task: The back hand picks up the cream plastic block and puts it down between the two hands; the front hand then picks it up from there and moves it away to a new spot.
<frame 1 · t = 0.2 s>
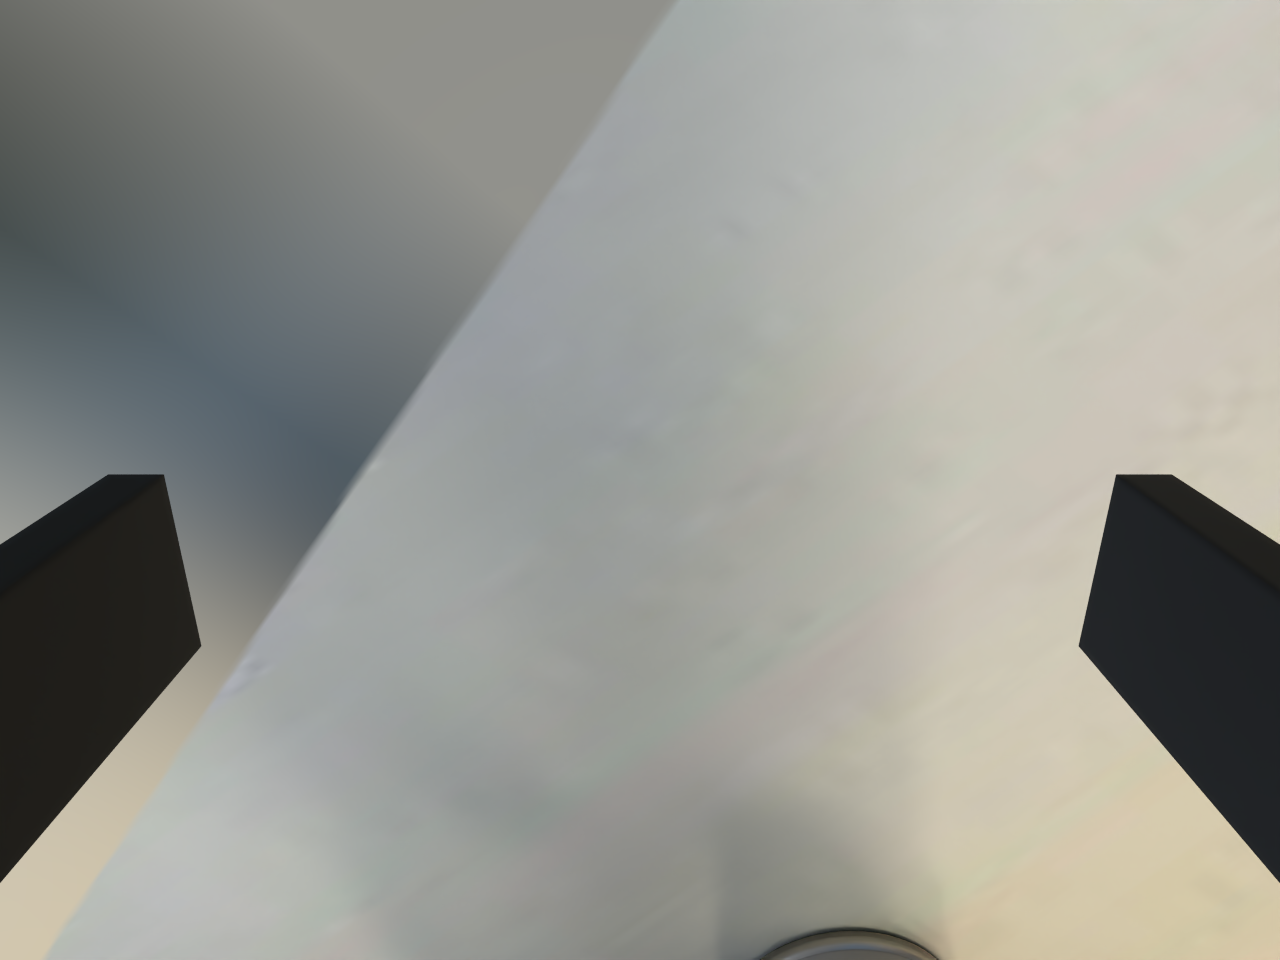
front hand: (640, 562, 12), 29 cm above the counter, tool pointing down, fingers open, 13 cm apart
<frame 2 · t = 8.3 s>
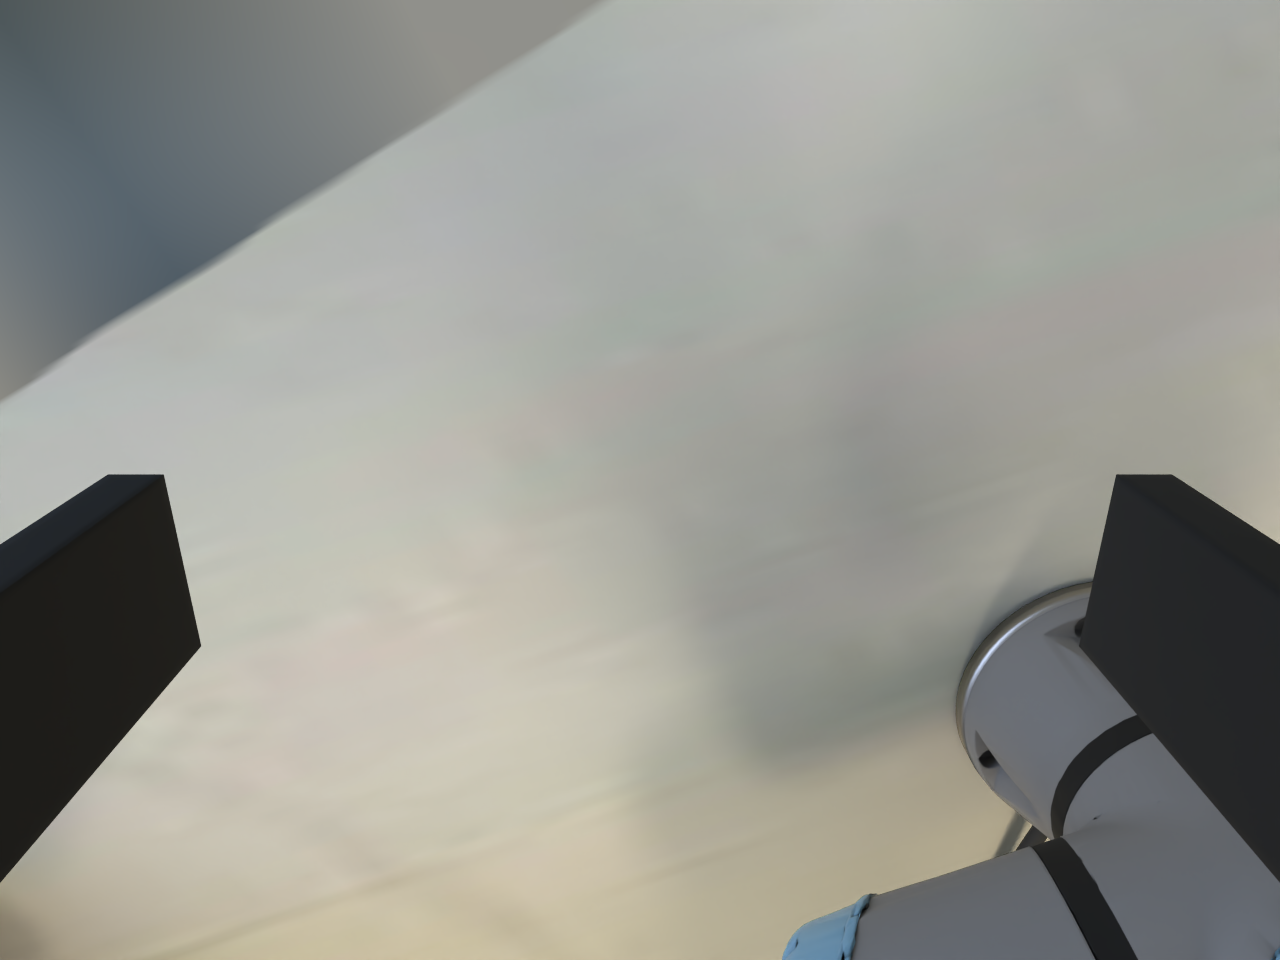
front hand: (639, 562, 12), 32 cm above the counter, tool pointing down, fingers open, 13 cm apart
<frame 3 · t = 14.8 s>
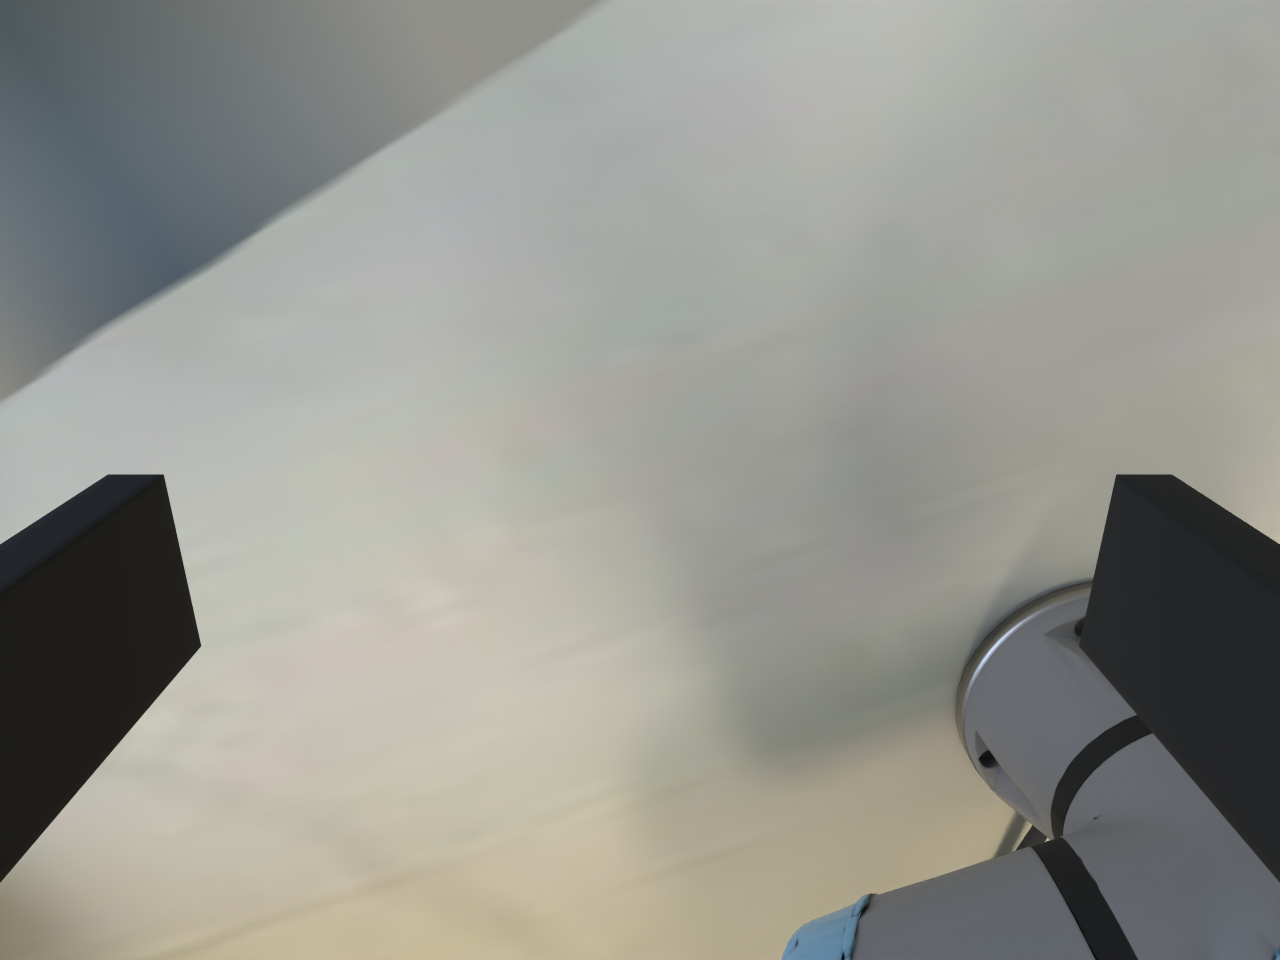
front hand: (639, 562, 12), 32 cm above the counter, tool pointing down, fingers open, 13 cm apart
when the back hand's fingers open (5 cm above the counter, at t = 21.1 s): block drops 2 cm, on the counter.
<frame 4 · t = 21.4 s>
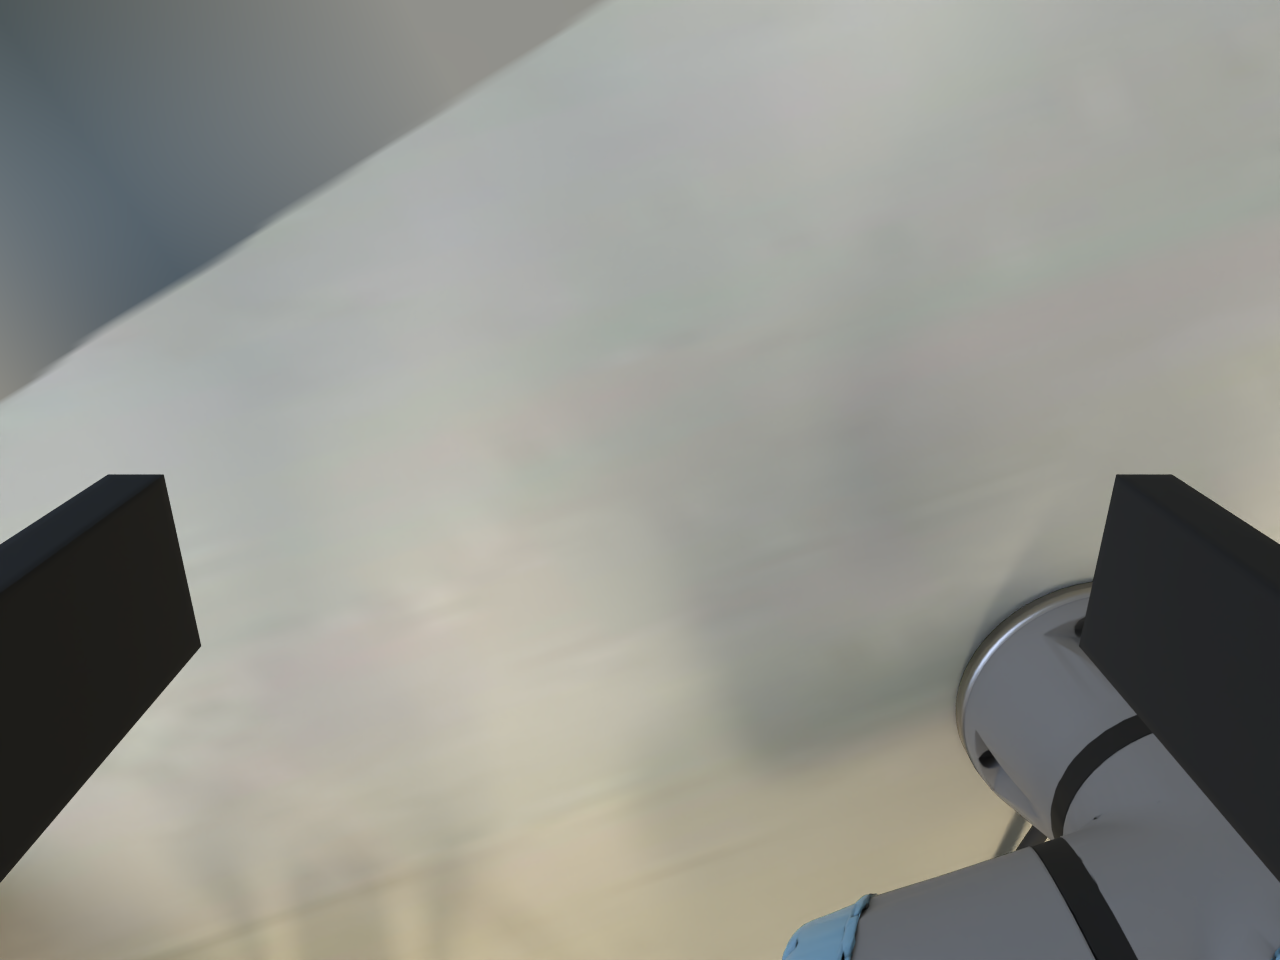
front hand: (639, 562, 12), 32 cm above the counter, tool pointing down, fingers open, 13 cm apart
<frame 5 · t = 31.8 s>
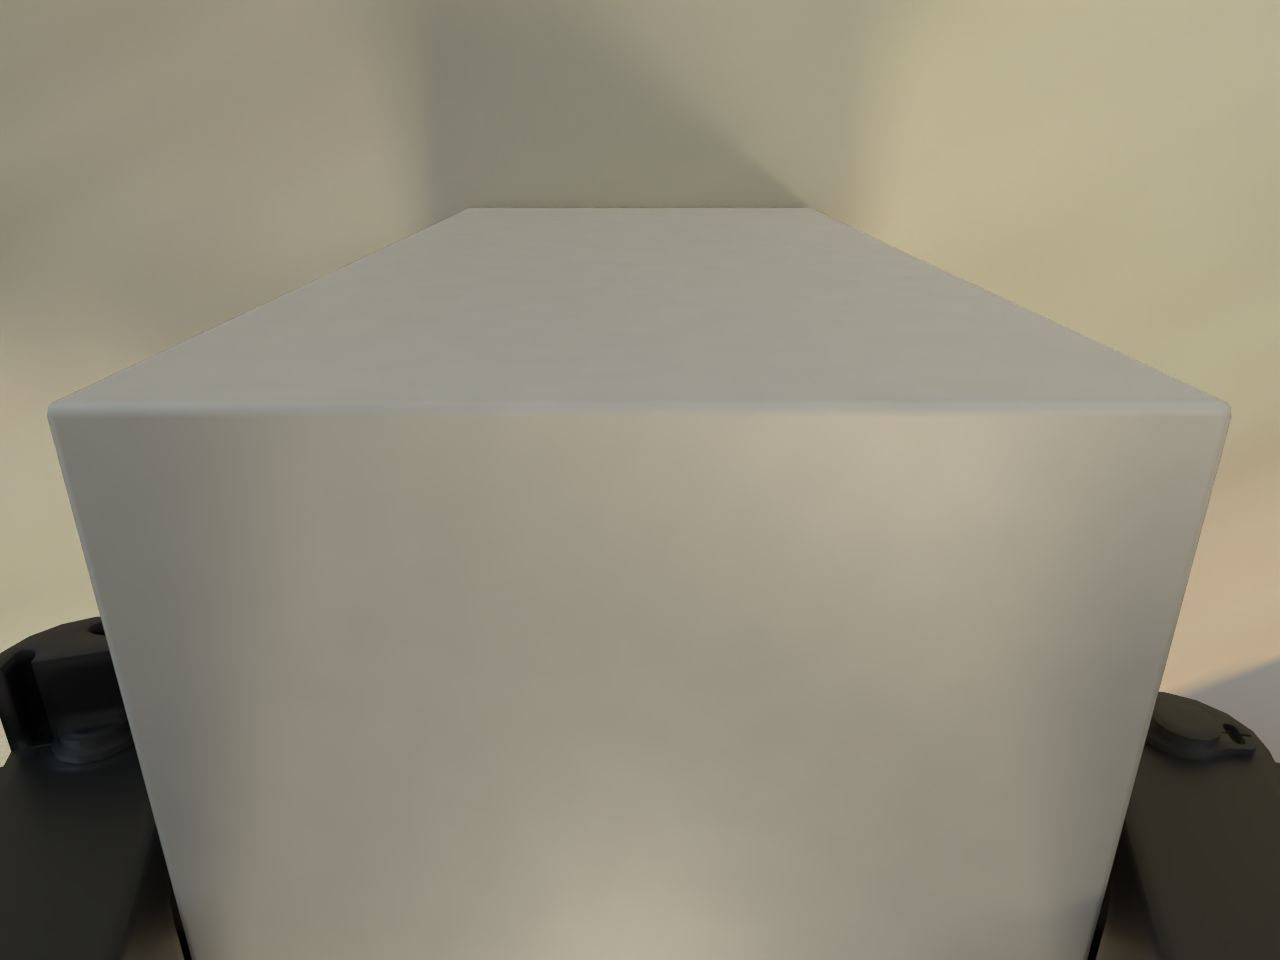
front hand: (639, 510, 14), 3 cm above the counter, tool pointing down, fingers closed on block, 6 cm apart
block: (639, 452, 17), on the counter, touching front hand
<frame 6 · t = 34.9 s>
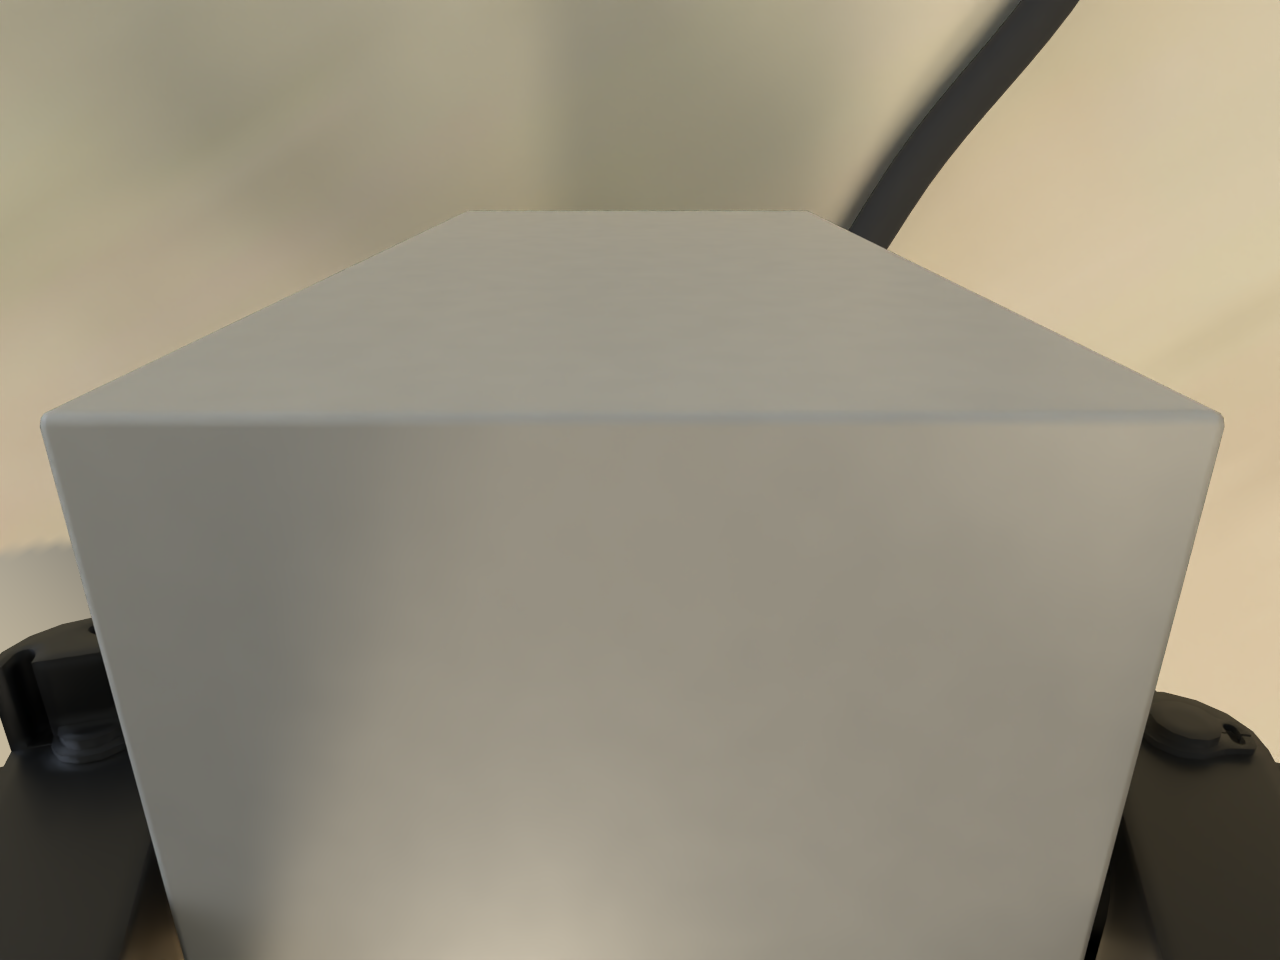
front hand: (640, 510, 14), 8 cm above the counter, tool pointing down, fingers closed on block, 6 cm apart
block: (637, 455, 17), point 5 cm above the counter, touching front hand
when the front hand's fingers open (5 cm above the counter, at t = 38.3 s): block drops 2 cm, on the counter.
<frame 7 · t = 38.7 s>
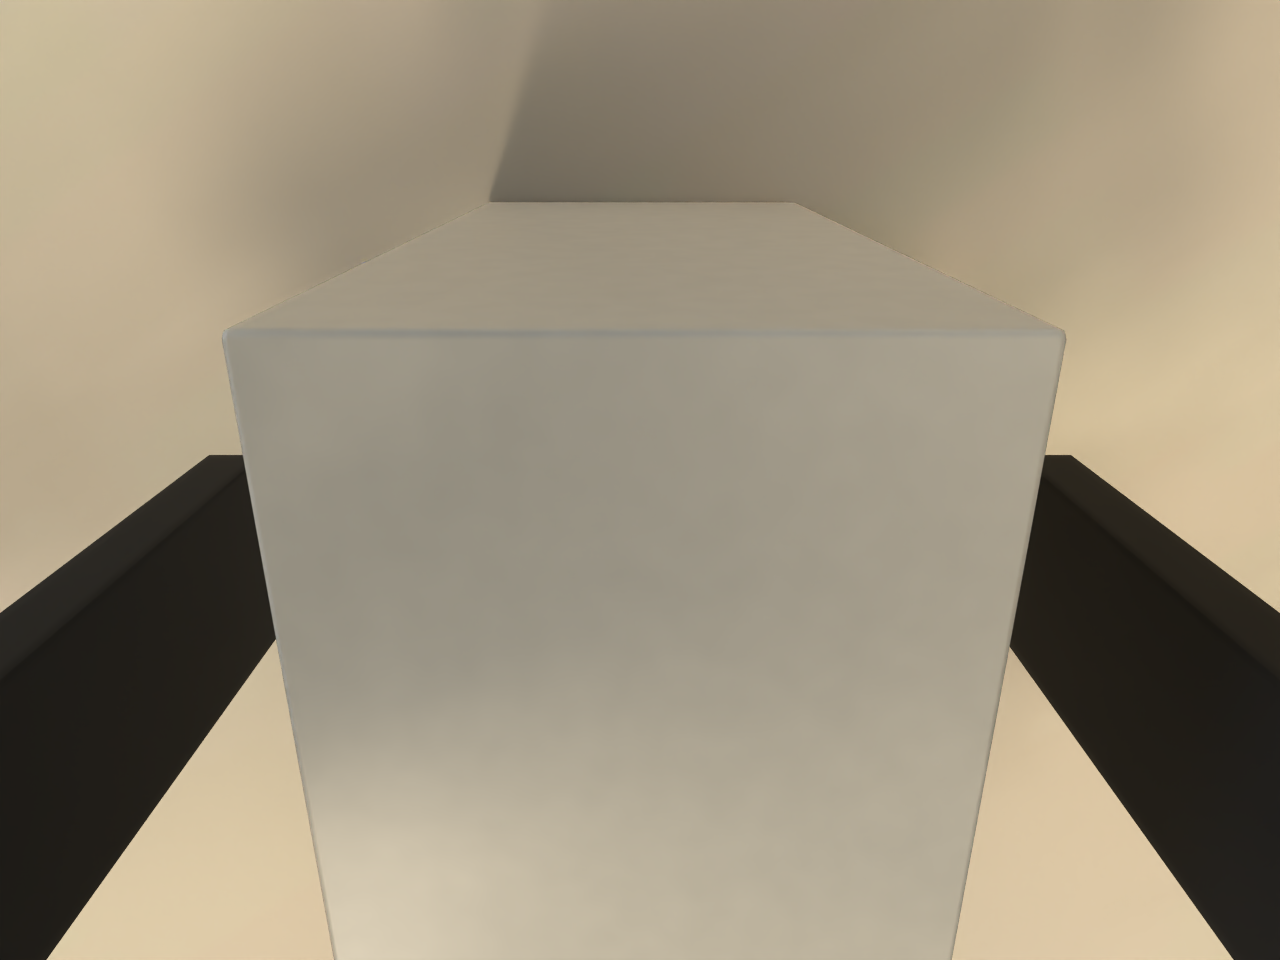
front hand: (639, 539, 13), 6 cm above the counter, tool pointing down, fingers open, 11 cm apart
block: (641, 424, 19), on the counter
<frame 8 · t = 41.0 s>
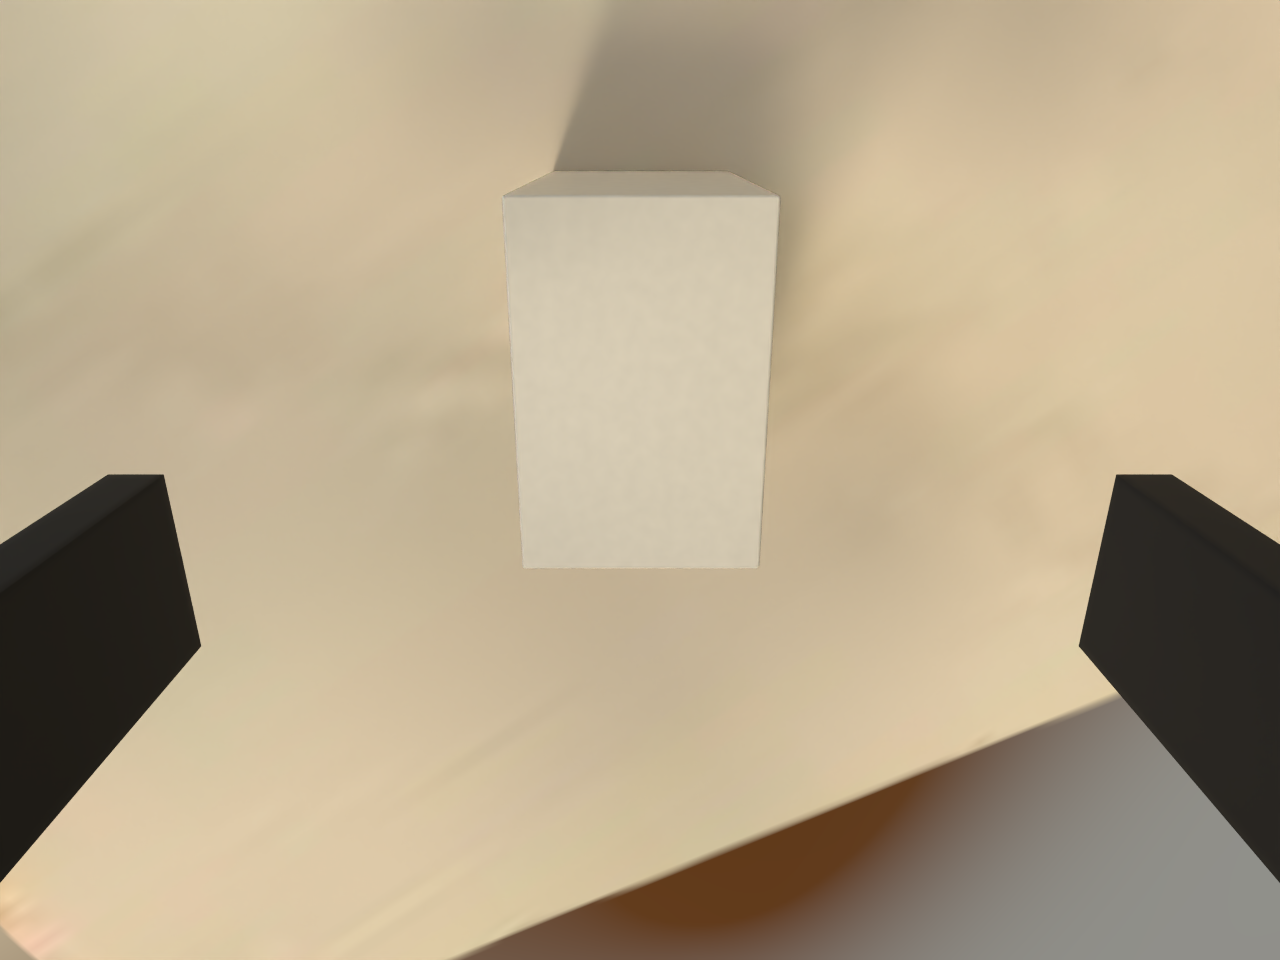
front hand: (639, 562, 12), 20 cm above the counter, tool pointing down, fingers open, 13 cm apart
block: (640, 305, 31), on the counter
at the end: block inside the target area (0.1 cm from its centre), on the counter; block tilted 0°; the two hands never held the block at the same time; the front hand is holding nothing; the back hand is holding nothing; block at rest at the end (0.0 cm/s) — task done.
